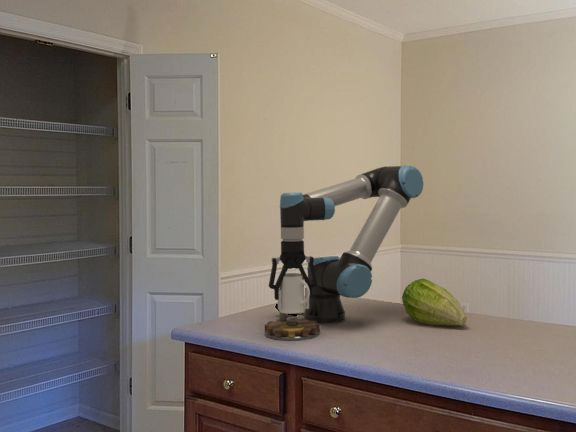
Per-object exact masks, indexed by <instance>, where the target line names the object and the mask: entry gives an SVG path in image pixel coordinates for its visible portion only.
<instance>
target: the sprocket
mask: <svg viewBox="0 0 576 432" xmlns="http://www.w3.org/2000/svg"><path fill="white" fill-rule="evenodd" d="M278 313H279V318H278V319H276V320H275V321H272V320H271V321H267V324H266V323H265V324H264V332H265V331H266V333H267V334H269V335H270V334H274V335H275V336H278V337H281V336H289V337H295V336H303V337H304V336H309V334H311V333H312V334H316V333H318V330H320V331H321V328H320V324H321V323H317V321H309V320H308V319H304V318H302V319H300V318H295V317H294V318H292V317H290V318H287V314H286V313H281V312H279V311H278Z"/></svg>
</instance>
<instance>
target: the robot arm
mask: <svg viewBox="0 0 576 432" xmlns="http://www.w3.org/2000/svg"><path fill="white" fill-rule="evenodd" d="M423 178H424V177H423V175H422V173H421V171H420V170H419V169H418V168H417V167H416V166H413V165H406V164H403V165H400V166H399V165H397V166H396V165H394V166H391V165H390V166H381V167H377V168H375V169H372V170H369V171H366V172H363V173H361V174H358V175H356V177H354V178H353V179H349V180H346V181H343V182H340V183H337V184H334V185H331V186H328V187H324V188H320V189H318V190H314V191H311V192H307V193H305V194H303V193H302V192H283V193H281V195H280V199H279V200H280V201H279V212H280V214H279V215H280V239H281V241H280V255H279V256H278V257H272V258H271V271H270V277H269V282H268V287H269V289H272V290H274V292H273V293H274V299H275V301H277V310H278V311H279V310H281V290H280V289H279V287H280V285H281V283H282V281H283V277H284V276H285V274H286V273H287V272H288V270H292V269H295V270H296V269H298V270H299V272H300V273H299V274H301V275H303V278H304V281H305V282H306V283H307V285H308V287H309V290H310V297H309V299H308V301H307V302H306V303H305V304H304V308H305V311H304V312H303V319H308V320H309V321H317V324H325V325H326V324H336V323H340V322H343V321H345V320H346V314H345V313H346V311H345V309H344V306H343V303H342V300H341V296H342V297H344V298H350V299H351V298H352V299H358V298H360V297H361V298H362V296H364V295H366V293H368V291H369V290H370V289H371V286H372V283H373V279H372V278H373V273H372V270H373V266H372V262H373V259H374V258H375V256H376V254H377V252H378V250H379V249H380V247H381V245H382V244H383V241H384V239H385V238H386V236H387V234H388V232H389V230H390V228H391V226H392V225H393V223H394V221H395V219H396V218H397V216H398V214H399V212H400V211H401V209H404V208H406V207H407V206H408V204H409V203H410V201H411V199H416V198H417V197H419V196H420V195H421V194H422V192H423V190H424V180H423ZM372 198H378V199H377V201H376V203H375V205H374V206H373V208H372V210H371V211H370V214H369V215H368V217H367V219H366V220H365V223H364V224H363V226H362V228H361V230H360V231H359V233H358V235H357V236H356V238H355V239H354V242H353V244H352V245H351V247H350V248H349V250H348V251H344V252H342V254H341V255H340V257H339V256H338V255H332V256H331V255H330V256H319V257H313V256H312V255H310V256H306V254H305V242H304V238H305V235H304V234H305V229H304V227H305V225H304V224H305V222H307V221H308V222H309V221H311V222H312V221H326V220H331V219H332V218H333V217H334V215H335V212H336V209H335V208H336V207H337V206H341V205H343V204H346V203H349V202H353V201H355V200H358V199H363V200H367V199H372ZM305 261H306V263H307V268H306V270H307V272H306V270H305V268H304V266H303V263H304V262H305ZM279 262H281V263H282V264H283V265H282V266H281V267H282V268H281V271H280V273H279V275H278V278H277V280H276V282H275V279H276V275H277V274H276V273H277V269H278V265H279ZM307 296H308V290H307V288H306V287H304V301H305V300H306V299H307Z"/></svg>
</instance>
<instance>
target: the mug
mask: <svg viewBox="0 0 576 432" xmlns="http://www.w3.org/2000/svg"><path fill="white" fill-rule="evenodd" d="M304 286H305V287H304ZM305 288H307V290H308V296H307V299H306V300H305ZM279 289H280V290H281V310H278V313H279V312H281V313H286V315H288V314H289V315H291V314H292V315H293V314H302V313H304V311H305V308H306V307H305V303H306V302H307V301H308V299H309V297H310V290H309V287H308V285H307V283H306V282H305V281H304V278H303V275H301V273H298V272H297V273H296V272H294V273H293V272H289V273H287V272H286V274H285V276H284V277H283V281H282V283H281V285H280V287H279Z"/></svg>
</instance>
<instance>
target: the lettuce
mask: <svg viewBox="0 0 576 432" xmlns="http://www.w3.org/2000/svg"><path fill="white" fill-rule="evenodd" d="M401 301H402V304H403V307H404V309H405V312H406V314H407V315H408V316H409V317H410V318H411V319H413V320H414V321H417V322H419V323H421V324H426V325H432V326H434V325H435V326H454V325H455V326H457V325H458V326H463V325H465V323H466V322H467V319H468V318H467V315H466V313H465V311H464V309H463V307H462V306H461V304H460V301H459V300H458V299H457V298H456V297H455V296H454V295H452V294H451V292H450V291H448V290H447V288H445V287H441V285H439V284H436V283H435V282H432V281H431V280H428V279H426V278H420V279H416V280H414V281H412V282H410V283H409V284H408V285H407V286H405V288H404V290H403V293H402V296H401Z"/></svg>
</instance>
